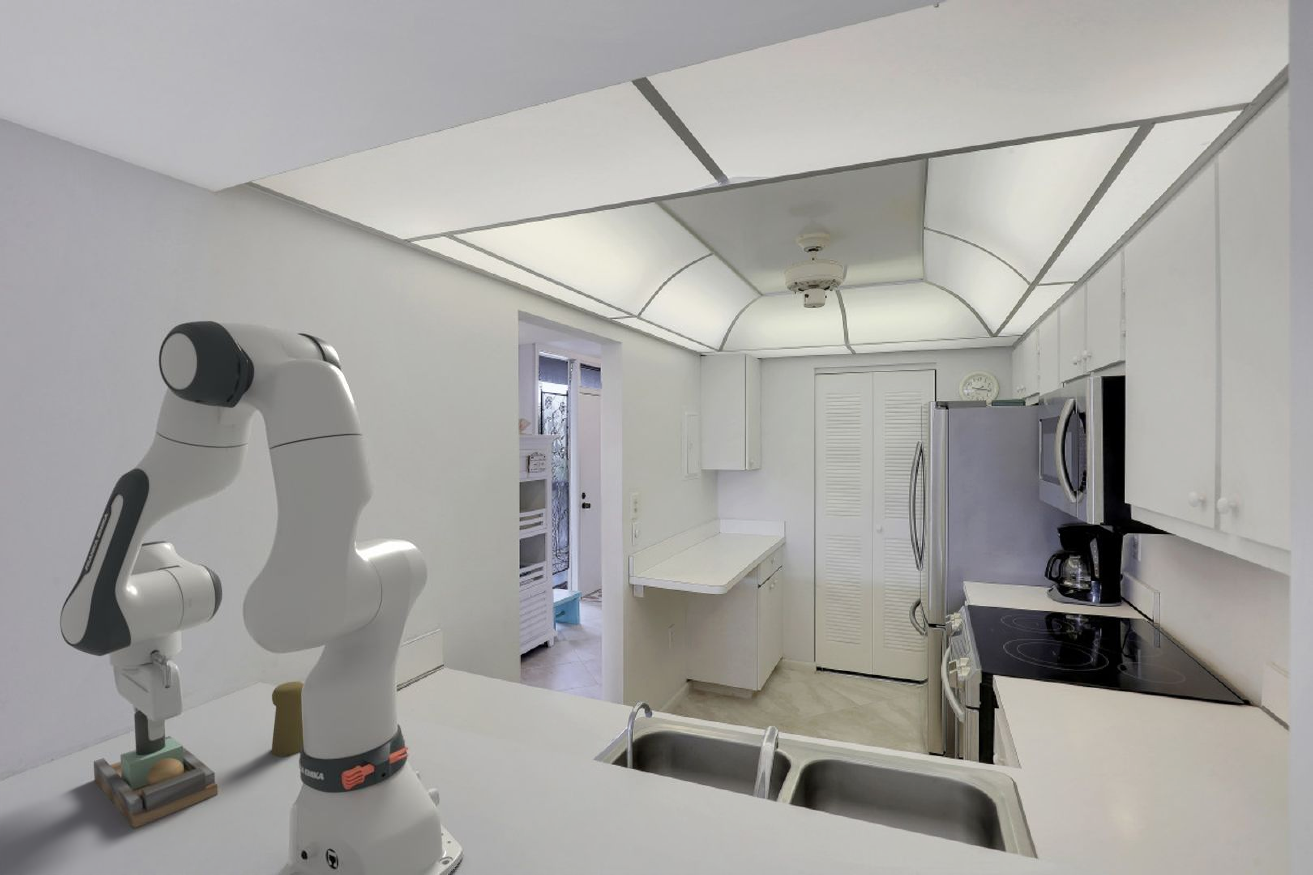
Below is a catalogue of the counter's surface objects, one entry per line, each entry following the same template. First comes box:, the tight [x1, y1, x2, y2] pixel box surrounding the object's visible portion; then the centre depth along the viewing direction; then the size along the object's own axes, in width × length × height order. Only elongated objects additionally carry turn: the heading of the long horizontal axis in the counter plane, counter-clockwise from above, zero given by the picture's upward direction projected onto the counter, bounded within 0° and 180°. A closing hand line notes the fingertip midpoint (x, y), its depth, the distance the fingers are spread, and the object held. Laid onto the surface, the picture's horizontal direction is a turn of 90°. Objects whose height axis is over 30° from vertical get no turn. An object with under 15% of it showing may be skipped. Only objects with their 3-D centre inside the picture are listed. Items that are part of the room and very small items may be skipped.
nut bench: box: [93, 735, 219, 829], centre depth 99 cm, size 22×10×4 cm, turn 52°
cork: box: [271, 681, 304, 757], centre depth 110 cm, size 6×6×11 cm
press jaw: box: [120, 711, 184, 790], centre depth 99 cm, size 5×7×10 cm
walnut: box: [147, 758, 184, 786], centre depth 95 cm, size 4×4×4 cm
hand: (150, 733), depth 99 cm, fingers closed on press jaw, 4 cm apart
